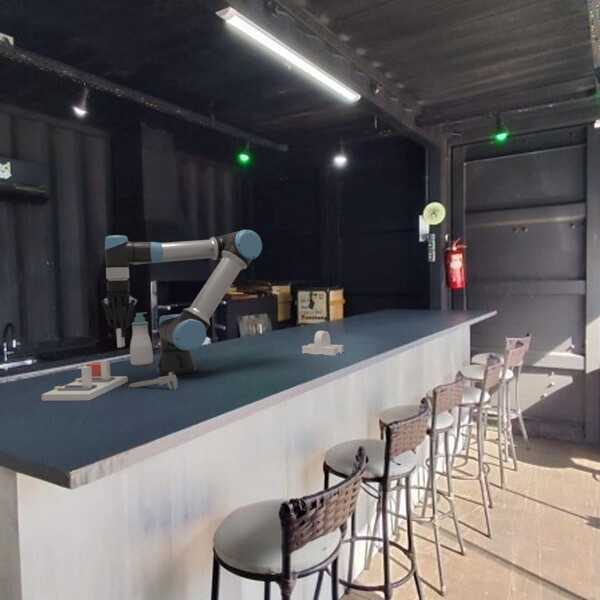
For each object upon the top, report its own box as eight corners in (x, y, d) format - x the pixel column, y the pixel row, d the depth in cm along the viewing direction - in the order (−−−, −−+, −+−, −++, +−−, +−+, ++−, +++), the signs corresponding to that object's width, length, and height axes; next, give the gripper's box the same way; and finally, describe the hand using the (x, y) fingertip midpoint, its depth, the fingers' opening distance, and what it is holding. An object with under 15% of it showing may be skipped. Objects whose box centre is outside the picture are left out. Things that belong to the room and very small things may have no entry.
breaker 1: (92, 387, 157) (91, 366, 157) (88, 388, 155) (87, 367, 155) (86, 387, 158) (84, 366, 157) (82, 388, 155) (81, 367, 155)
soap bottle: (158, 362, 213) (155, 312, 212) (140, 366, 205) (137, 314, 204) (143, 361, 219) (141, 312, 217) (125, 364, 210) (123, 313, 209)
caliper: (177, 390, 160) (177, 371, 160) (175, 390, 159) (175, 372, 159) (130, 386, 168) (129, 369, 167) (127, 387, 167) (126, 369, 166)
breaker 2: (110, 379, 169) (109, 359, 169) (107, 380, 167) (106, 361, 167) (104, 379, 170) (103, 360, 169) (101, 380, 167) (100, 361, 167)
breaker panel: (127, 381, 175) (127, 374, 175) (89, 400, 149) (88, 391, 149) (86, 382, 177) (86, 374, 177) (41, 400, 151) (41, 392, 151)
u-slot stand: (335, 356, 216) (334, 332, 216) (301, 353, 225) (300, 331, 225) (344, 352, 224) (343, 330, 224) (311, 350, 234) (310, 329, 233)
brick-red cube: (108, 376, 185) (108, 361, 185) (101, 380, 179) (100, 364, 179) (95, 377, 186) (94, 361, 185) (86, 380, 180) (85, 364, 180)
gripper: (140, 279, 169) (143, 344, 170) (106, 280, 170) (109, 345, 171) (130, 279, 161) (133, 348, 162) (94, 280, 163) (98, 348, 164)
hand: (121, 346), depth 167 cm, fingers closed
